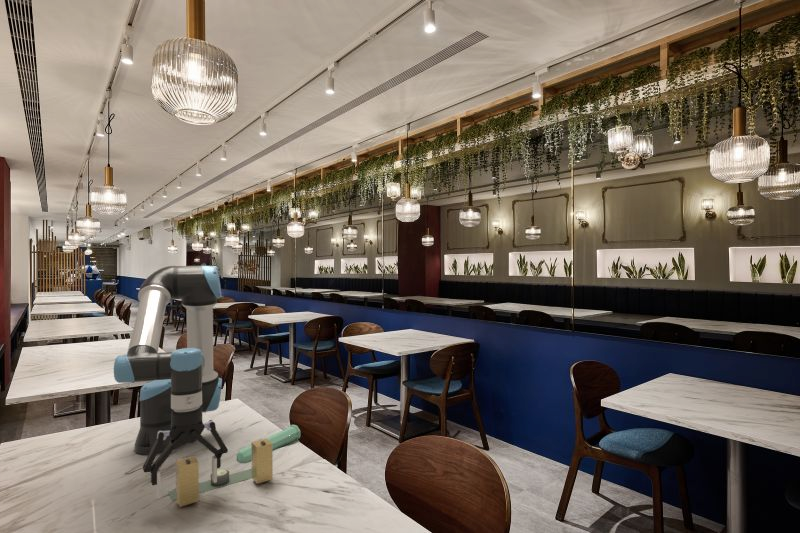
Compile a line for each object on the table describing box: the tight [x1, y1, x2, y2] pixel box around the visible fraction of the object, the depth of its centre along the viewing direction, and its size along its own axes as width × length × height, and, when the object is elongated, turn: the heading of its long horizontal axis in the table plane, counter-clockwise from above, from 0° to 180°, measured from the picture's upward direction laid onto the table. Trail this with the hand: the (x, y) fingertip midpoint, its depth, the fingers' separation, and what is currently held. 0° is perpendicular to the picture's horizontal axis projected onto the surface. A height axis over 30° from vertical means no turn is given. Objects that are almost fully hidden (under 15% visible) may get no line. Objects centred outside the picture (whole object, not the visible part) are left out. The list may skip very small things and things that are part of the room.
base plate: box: [168, 468, 252, 502], centre depth 126 cm, size 12×26×4 cm, turn 126°
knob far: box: [250, 438, 274, 484], centre depth 129 cm, size 5×5×12 cm
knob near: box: [175, 455, 200, 508], centre depth 117 cm, size 5×5×12 cm
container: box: [236, 424, 301, 464], centre depth 152 cm, size 6×6×25 cm
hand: (187, 488), depth 117 cm, fingers open, 13 cm apart
